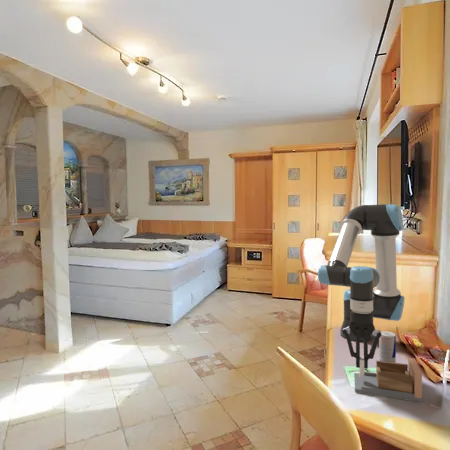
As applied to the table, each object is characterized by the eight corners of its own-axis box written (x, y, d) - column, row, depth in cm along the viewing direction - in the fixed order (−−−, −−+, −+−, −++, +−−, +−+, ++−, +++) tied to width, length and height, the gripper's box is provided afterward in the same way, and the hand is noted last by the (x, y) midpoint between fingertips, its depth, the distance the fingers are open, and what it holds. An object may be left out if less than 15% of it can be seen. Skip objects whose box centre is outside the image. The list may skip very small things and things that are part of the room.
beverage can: (397, 376, 126) (397, 336, 126) (381, 375, 128) (381, 335, 127) (393, 369, 132) (393, 331, 131) (377, 368, 133) (377, 330, 132)
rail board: (354, 376, 127) (354, 351, 127) (414, 384, 120) (414, 358, 120) (355, 392, 116) (355, 365, 115) (421, 402, 109) (421, 374, 109)
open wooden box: (376, 376, 124) (376, 360, 123) (407, 380, 120) (407, 364, 120) (378, 390, 114) (378, 372, 114) (412, 395, 111) (412, 377, 111)
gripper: (342, 312, 118) (342, 378, 119) (383, 315, 114) (383, 384, 115) (342, 306, 125) (342, 369, 126) (380, 309, 121) (380, 374, 122)
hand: (361, 376), depth 121 cm, fingers closed
